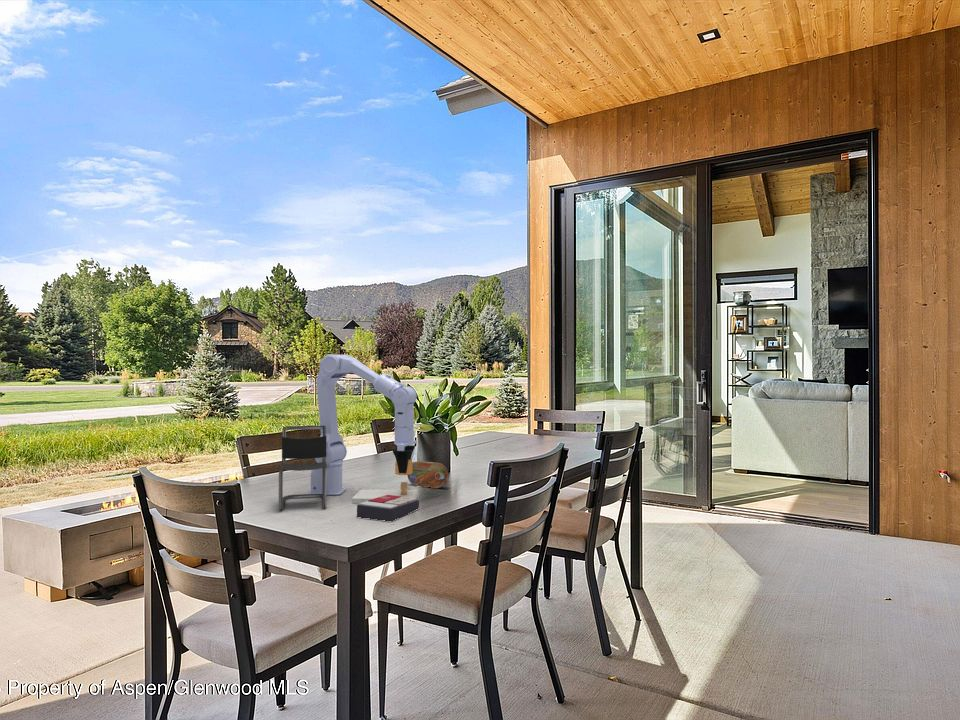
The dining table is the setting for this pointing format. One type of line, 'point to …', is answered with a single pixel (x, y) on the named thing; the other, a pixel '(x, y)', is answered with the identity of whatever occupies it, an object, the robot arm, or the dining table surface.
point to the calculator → (387, 507)
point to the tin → (428, 474)
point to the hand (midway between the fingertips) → (404, 471)
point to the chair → (303, 451)
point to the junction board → (383, 493)
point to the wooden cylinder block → (409, 468)
